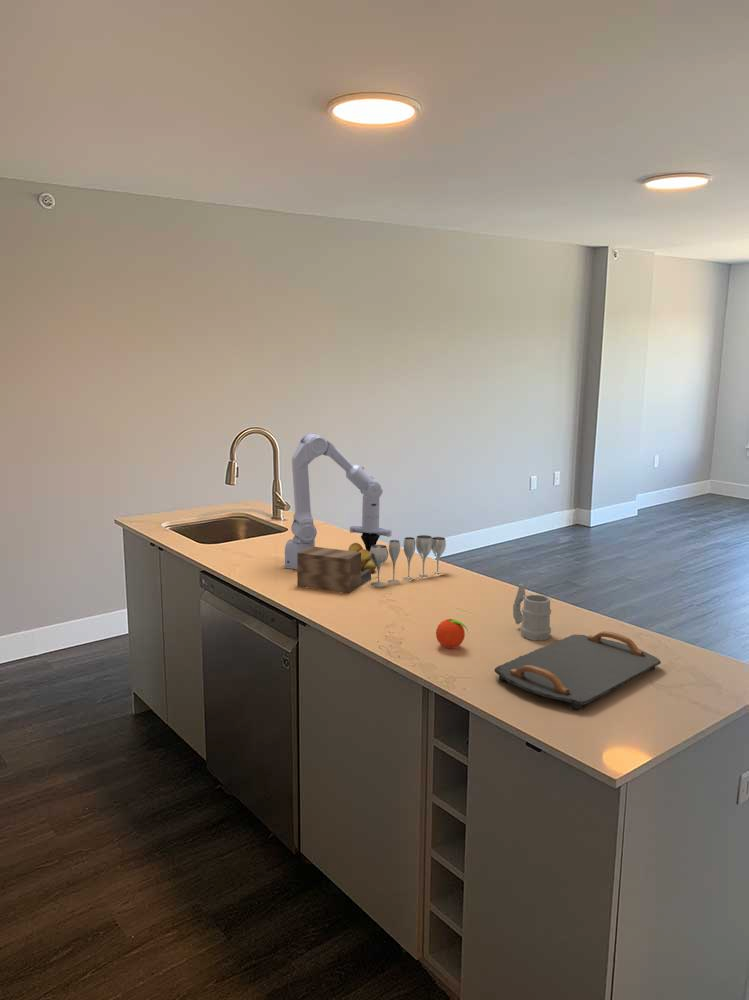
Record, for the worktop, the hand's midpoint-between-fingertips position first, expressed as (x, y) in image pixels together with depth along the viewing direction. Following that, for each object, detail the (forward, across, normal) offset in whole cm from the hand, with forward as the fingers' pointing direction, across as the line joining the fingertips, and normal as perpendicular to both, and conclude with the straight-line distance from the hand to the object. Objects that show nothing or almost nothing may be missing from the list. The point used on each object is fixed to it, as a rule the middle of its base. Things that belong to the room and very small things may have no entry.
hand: (370, 554), depth 261 cm
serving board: (+3, -79, +67) cm, 104 cm away
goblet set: (+3, -19, +14) cm, 24 cm away
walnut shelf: (+2, 0, +27) cm, 27 cm away
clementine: (+3, -49, +64) cm, 81 cm away
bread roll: (+3, 0, +11) cm, 11 cm away
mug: (+3, -64, +46) cm, 79 cm away
